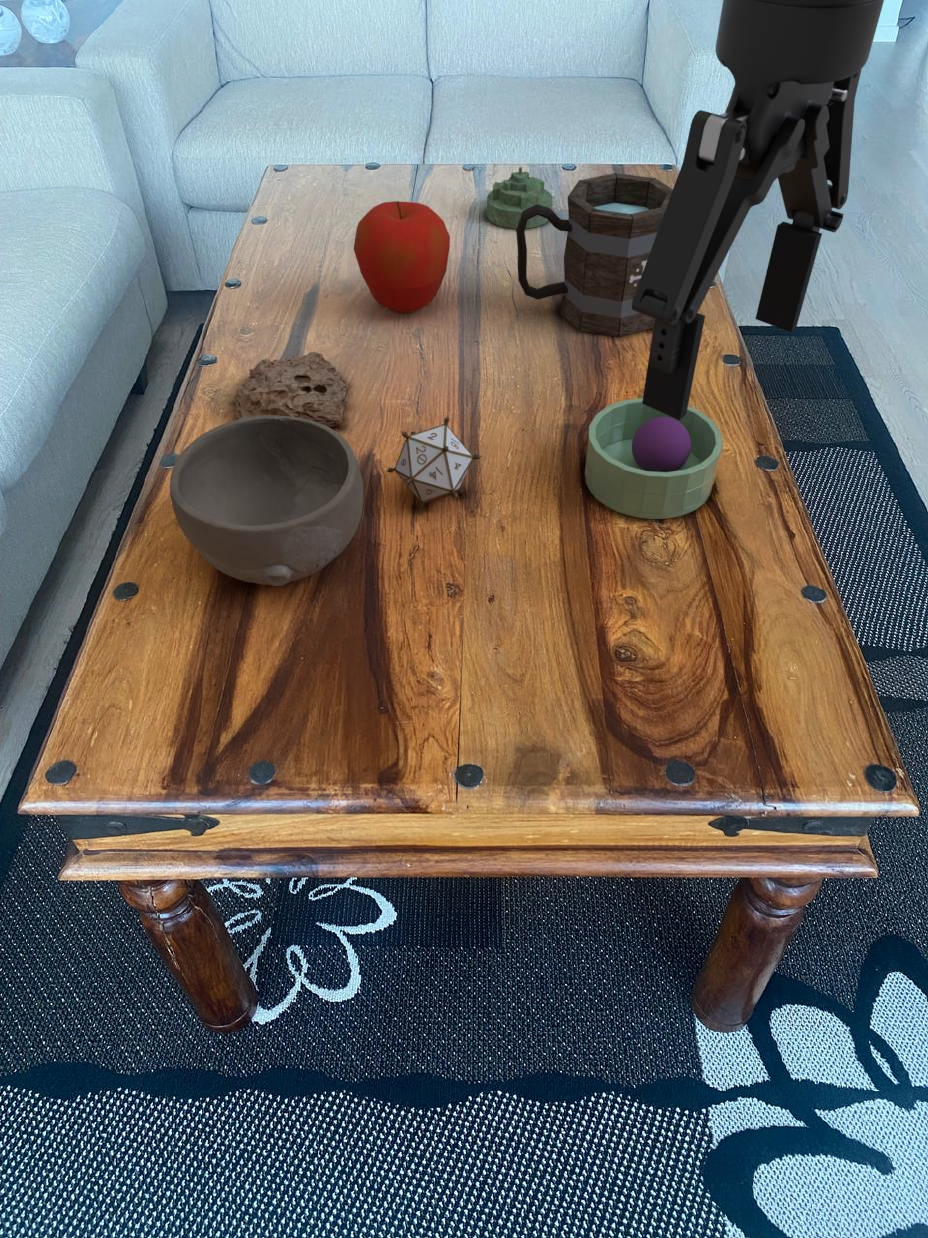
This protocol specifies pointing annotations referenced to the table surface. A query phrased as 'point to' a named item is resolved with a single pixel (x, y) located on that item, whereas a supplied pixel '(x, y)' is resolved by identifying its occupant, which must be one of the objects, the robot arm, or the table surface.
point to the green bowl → (648, 491)
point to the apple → (402, 254)
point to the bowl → (268, 497)
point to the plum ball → (661, 445)
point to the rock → (294, 390)
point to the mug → (602, 250)
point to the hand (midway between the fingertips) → (722, 364)
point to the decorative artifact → (517, 200)
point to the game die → (433, 463)
